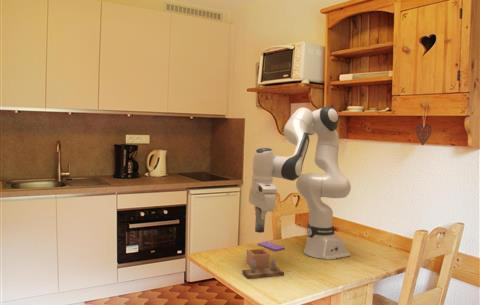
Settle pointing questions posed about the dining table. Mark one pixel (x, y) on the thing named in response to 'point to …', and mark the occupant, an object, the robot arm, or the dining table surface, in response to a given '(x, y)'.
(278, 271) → the peg board
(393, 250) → the dining table surface
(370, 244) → the dining table surface
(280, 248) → the sponges
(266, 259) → the socket
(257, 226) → the steel pin
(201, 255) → the dining table surface
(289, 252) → the dining table surface
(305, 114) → the robot arm
